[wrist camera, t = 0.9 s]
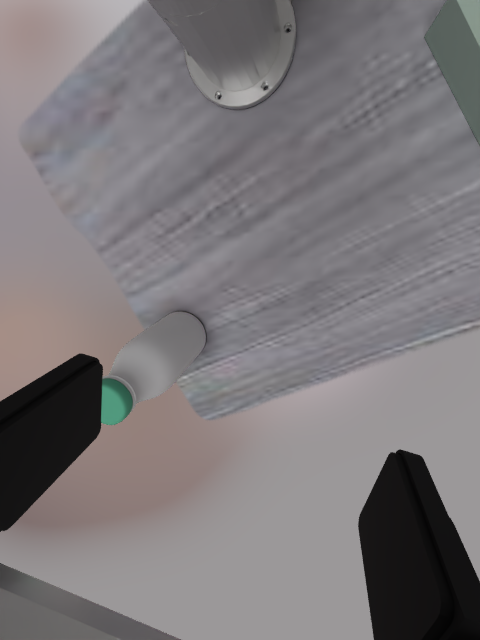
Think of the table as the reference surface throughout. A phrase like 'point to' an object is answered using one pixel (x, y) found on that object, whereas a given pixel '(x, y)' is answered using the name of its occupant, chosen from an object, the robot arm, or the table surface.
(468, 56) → the green yellow rimmed box
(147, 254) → the table surface
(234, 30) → the robot arm
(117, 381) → the milk bottle
